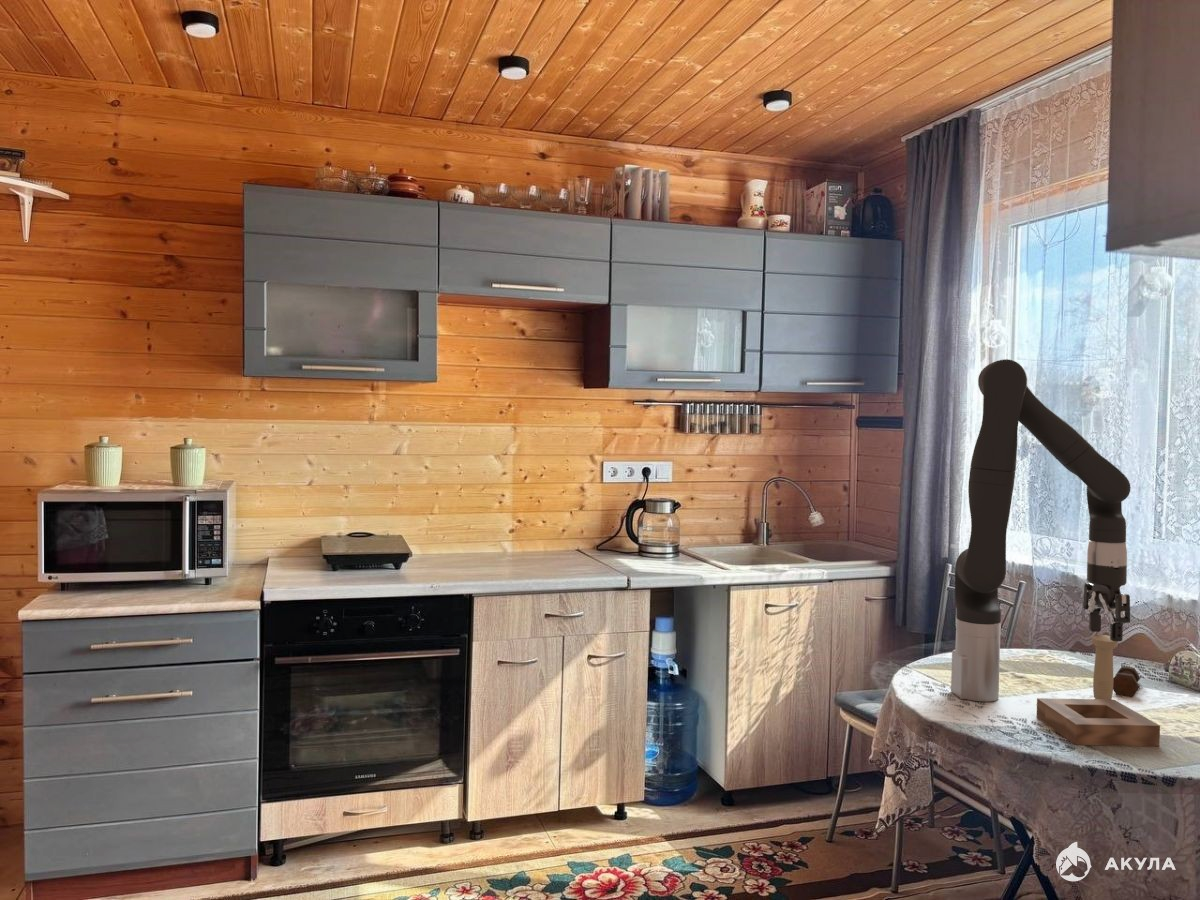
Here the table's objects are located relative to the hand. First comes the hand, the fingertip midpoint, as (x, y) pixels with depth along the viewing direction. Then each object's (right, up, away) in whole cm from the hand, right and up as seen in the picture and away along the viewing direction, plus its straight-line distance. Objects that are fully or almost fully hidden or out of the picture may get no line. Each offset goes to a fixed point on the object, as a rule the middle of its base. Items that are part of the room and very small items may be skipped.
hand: (1105, 636), depth 198 cm
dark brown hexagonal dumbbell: (+13, -16, +14) cm, 25 cm away
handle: (0, -16, +1) cm, 16 cm away
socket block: (-11, -16, -15) cm, 24 cm away
